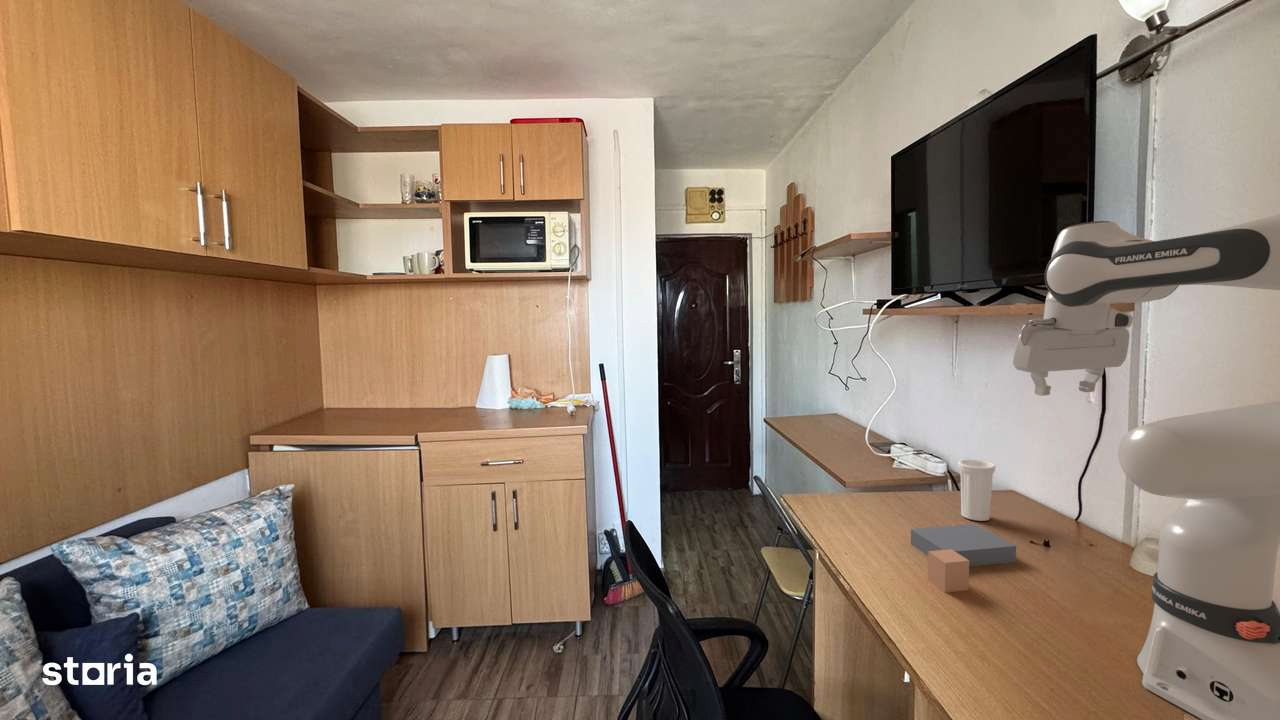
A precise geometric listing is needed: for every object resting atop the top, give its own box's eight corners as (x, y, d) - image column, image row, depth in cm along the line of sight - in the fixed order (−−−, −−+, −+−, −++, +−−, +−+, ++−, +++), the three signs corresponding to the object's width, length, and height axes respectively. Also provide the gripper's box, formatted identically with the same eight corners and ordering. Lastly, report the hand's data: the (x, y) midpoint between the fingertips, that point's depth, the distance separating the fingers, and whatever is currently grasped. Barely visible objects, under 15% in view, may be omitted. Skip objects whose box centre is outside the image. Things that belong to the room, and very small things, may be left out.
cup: (985, 512, 140) (986, 459, 139) (1000, 524, 132) (1001, 468, 131) (951, 511, 142) (953, 458, 140) (964, 523, 134) (966, 467, 133)
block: (968, 590, 103) (969, 560, 103) (944, 592, 103) (945, 562, 102) (950, 577, 108) (951, 549, 107) (927, 579, 108) (928, 551, 107)
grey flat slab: (1015, 564, 113) (1016, 546, 113) (945, 570, 112) (946, 552, 111) (974, 540, 125) (974, 523, 125) (910, 545, 124) (910, 528, 123)
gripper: (1040, 321, 89) (1030, 401, 92) (1141, 316, 92) (1129, 393, 95) (1008, 317, 95) (999, 392, 98) (1104, 313, 98) (1093, 385, 101)
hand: (1064, 393), depth 96 cm, fingers open, 8 cm apart
